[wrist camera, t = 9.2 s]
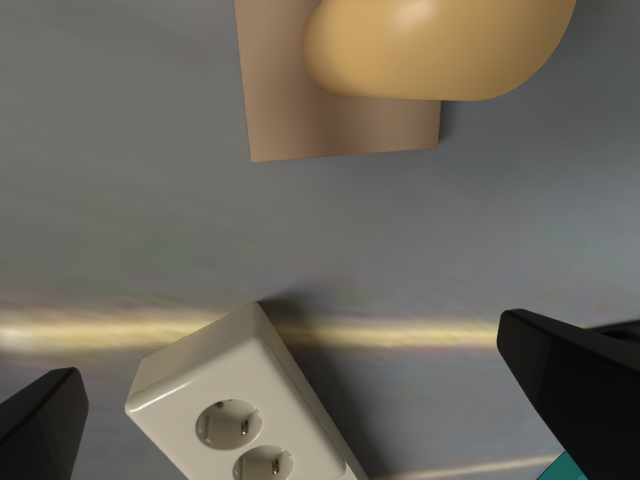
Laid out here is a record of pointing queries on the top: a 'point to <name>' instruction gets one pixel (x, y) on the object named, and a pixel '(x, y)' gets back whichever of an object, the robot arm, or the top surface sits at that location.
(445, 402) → the top surface
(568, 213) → the top surface
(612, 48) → the top surface
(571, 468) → the digital multimeter
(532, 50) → the amber plug
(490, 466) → the top surface
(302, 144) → the tan square tile
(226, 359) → the electrical outlet
